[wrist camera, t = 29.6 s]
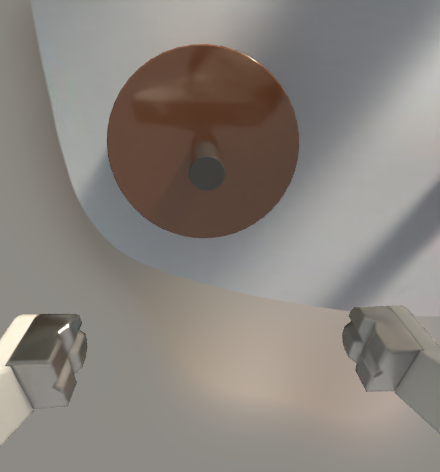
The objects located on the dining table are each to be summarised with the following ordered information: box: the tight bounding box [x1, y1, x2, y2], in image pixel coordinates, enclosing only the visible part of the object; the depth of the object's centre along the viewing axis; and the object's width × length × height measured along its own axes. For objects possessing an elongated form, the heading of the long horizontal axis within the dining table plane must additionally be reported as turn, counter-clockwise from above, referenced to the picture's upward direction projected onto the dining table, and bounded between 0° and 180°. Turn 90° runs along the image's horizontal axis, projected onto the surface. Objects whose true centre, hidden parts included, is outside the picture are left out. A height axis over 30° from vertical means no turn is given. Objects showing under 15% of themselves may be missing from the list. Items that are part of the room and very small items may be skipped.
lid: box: [107, 44, 299, 238], centre depth 23 cm, size 16×16×5 cm
